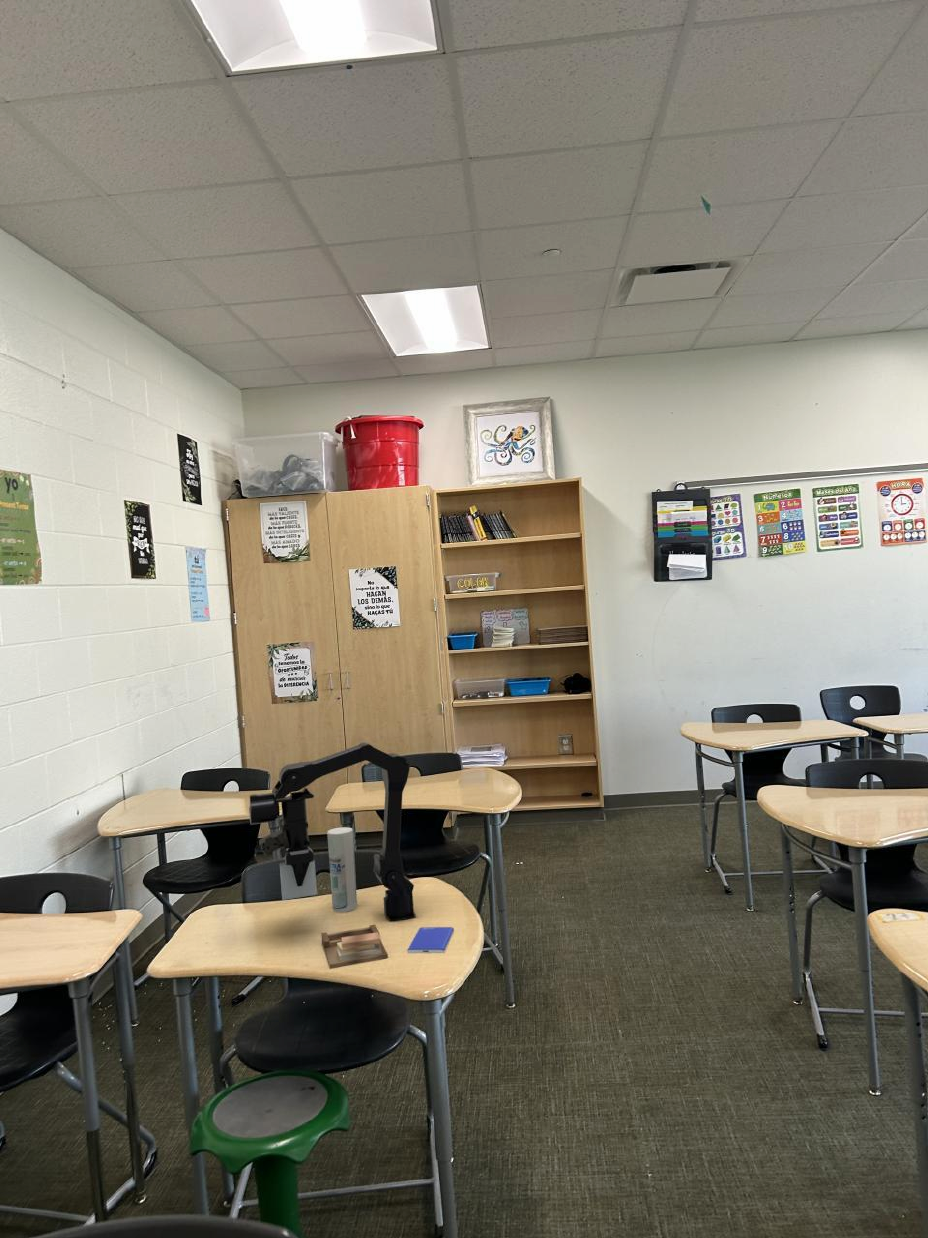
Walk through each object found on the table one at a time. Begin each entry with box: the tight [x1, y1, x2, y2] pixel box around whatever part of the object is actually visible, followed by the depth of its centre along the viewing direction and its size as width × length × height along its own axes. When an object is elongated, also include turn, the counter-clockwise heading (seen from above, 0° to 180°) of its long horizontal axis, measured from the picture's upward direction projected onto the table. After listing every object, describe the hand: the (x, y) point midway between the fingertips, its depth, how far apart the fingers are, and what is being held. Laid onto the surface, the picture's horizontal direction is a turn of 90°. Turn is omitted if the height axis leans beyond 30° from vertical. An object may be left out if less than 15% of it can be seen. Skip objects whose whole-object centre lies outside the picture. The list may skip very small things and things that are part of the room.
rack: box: [321, 924, 389, 969], centre depth 180 cm, size 12×15×2 cm
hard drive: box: [407, 926, 455, 954], centre depth 182 cm, size 2×8×12 cm
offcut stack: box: [337, 932, 382, 961], centre depth 176 cm, size 9×5×3 cm, turn 106°
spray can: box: [326, 826, 358, 914], centre depth 208 cm, size 6×6×20 cm
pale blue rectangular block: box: [279, 860, 318, 901], centre depth 192 cm, size 8×2×8 cm, turn 106°
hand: (299, 884), depth 192 cm, fingers closed on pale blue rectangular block, 2 cm apart
